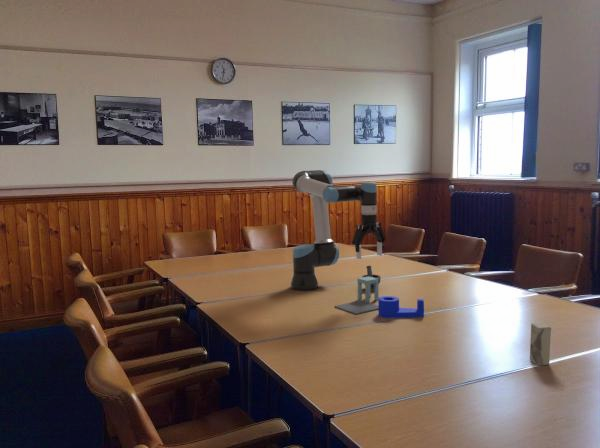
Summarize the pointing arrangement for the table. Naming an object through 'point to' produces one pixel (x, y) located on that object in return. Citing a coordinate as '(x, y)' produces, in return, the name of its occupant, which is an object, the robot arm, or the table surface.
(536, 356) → the grey stone block
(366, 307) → the mat
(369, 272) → the mortar and pestle
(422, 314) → the bracket
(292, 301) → the table surface
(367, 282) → the slotted teal block
